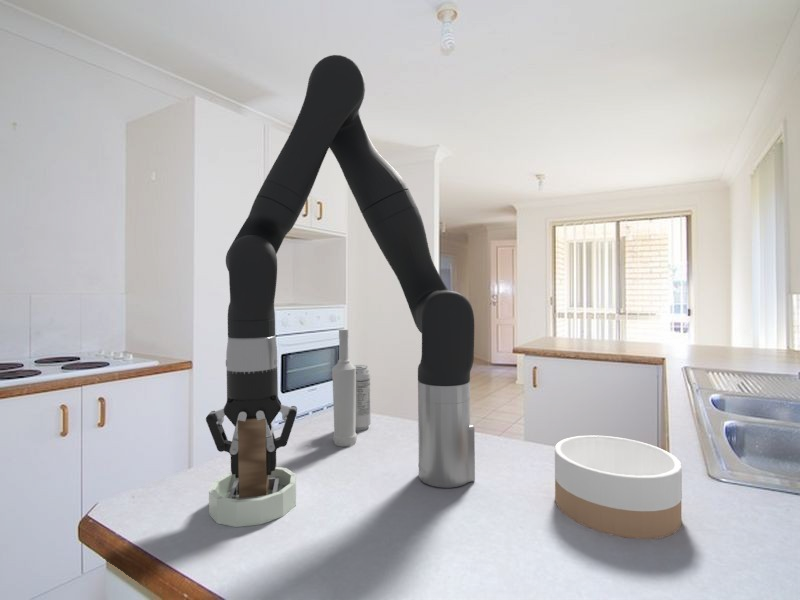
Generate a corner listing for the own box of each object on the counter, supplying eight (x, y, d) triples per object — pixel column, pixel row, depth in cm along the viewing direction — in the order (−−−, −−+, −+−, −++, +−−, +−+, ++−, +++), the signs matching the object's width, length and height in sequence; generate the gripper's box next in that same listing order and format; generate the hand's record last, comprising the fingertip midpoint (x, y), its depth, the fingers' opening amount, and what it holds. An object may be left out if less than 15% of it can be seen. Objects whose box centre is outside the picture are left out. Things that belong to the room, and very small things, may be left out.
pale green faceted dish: (297, 483, 75) (297, 463, 75) (294, 520, 63) (294, 496, 63) (220, 490, 73) (219, 470, 73) (201, 531, 61) (201, 506, 61)
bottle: (352, 447, 93) (351, 330, 92) (329, 446, 94) (328, 330, 93) (359, 439, 98) (358, 328, 97) (337, 438, 99) (336, 328, 98)
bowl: (697, 509, 65) (698, 454, 65) (656, 556, 54) (656, 490, 54) (585, 474, 78) (585, 428, 78) (533, 506, 67) (533, 452, 67)
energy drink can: (359, 422, 111) (358, 363, 110) (375, 427, 106) (375, 366, 106) (340, 427, 106) (340, 366, 106) (357, 433, 102) (356, 369, 102)
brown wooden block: (269, 484, 70) (267, 411, 70) (266, 496, 67) (265, 418, 66) (243, 487, 70) (241, 412, 69) (238, 498, 66) (237, 420, 66)
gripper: (299, 360, 73) (301, 461, 73) (209, 363, 70) (211, 469, 70) (298, 367, 65) (299, 480, 66) (197, 371, 63) (199, 489, 63)
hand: (254, 474), depth 68 cm, fingers closed on brown wooden block, 4 cm apart
